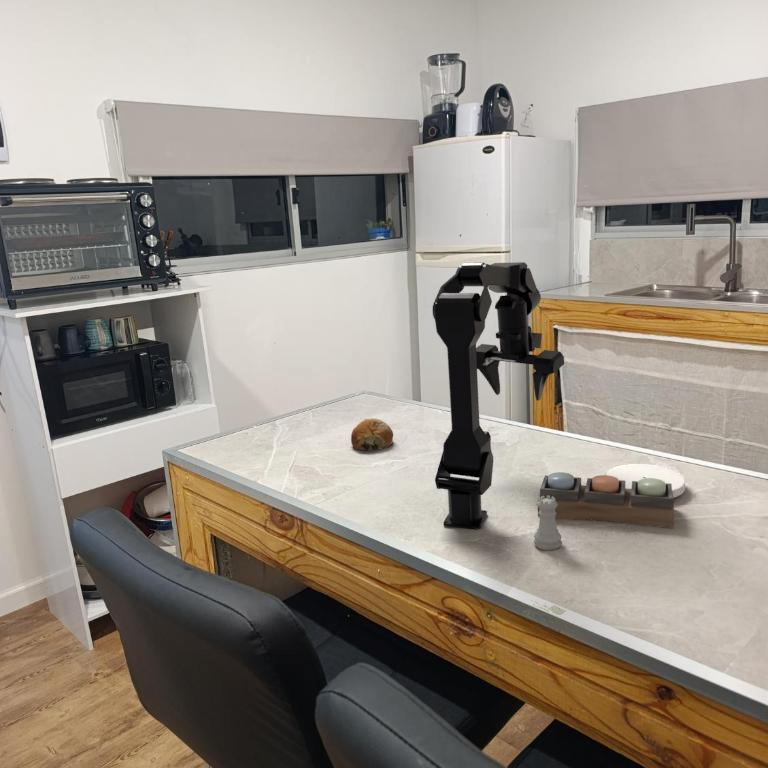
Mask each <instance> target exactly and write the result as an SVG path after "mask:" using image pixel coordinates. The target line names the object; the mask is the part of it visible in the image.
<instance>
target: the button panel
mask: <svg viewBox="0 0 768 768" xmlns="http://www.w3.org/2000/svg"><path fill="white" fill-rule="evenodd" d="M548 476H549V475H546V474H545V475H544V477H543V480H542V482H541V485H540V488H539V496H538V498H537V502H538V501H539V498H541V496H544V498H547V496H550V499H551V497H554V498H555V501H556V502H557V504H558V506H557V507H556V509H555V512H556V515H555V519H565V520H574V521H575V520H577V521H585V522H586V521H589V522H601V523H610V524H611V523H612V524H620V525H621V524H624V525H635V526H646V527H647V526H648V527H655V528H657V527H658V528H666V529H667V528H670V529H674V527H675V526H674V525H675V504H674V503H675V502H674V498H673V492H672V484H667V483H666V493H665V497H659V496H646V495H638V482H637V481H632V489H626V488H625V481H622V480H619V492H618V493H605V492H592V478H593V477H592V478H591V477H590V478H589V477H587V479H586V485H582V477H577V476H576V477H574V476H573V477H574V489H573V490H563V489H550V488H548ZM539 511H540V508H539V507H538V506H537V517H540V515H539V514H538V513H539Z"/></svg>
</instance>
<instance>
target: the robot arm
mask: <svg viewBox="0 0 768 768" xmlns="http://www.w3.org/2000/svg"><path fill="white" fill-rule="evenodd" d="M465 287H482V288H483V289H482V291H481V294H479V292H462V291H463V290H464V288H465ZM490 291H491V292H493V293H497V294H506V295H500V296H499V298H498V300H497V301H496V303H495V305H494V309H495V310H496V313H497V324H498V325H497V326H498V331H497V332H495V338H496V339H499V347H498V346H497V345H496V344H486V343H485V344H484V343H481V344H480V345H478V346H477V343H478V341H479V339H480V338H481V335H482V333H483V332H484V330H485V328H486V319H487V318H488V317H487V316H488V315H489V312H490V308H491V305H492V303H493V300H492V297H491V295H490V294H491V293H490ZM541 298H542V296H541V293H540V290H539V289H538V288H537V285H536V282H535V279H534V276H533V274H532V272H531V269H530V267H528V264H527V263H526V262H524V261H523V262H521V261H519V262H517V261H516V262H494V263H491V264H489V263H485V262H464V263H462V264H459V266H457V269H456V271H455V274H453V275H452V276H451V277H450V278H449V279H447V281H446V282H444V283H443V284H442V285H441V286H440V287H439V290H438V292H437V295H436V297H435V299H434V301H433V305H432V317H433V319H434V322H435V329H436V334H437V335H438V336H439V338H440V339H441V341H442V343H443V344H444V345H445V347H446V350H447V351H446V352H447V365H448V366H447V368H448V369H447V370H448V382H449V383H448V384H449V401H450V402H449V403H450V419H451V420H450V421H451V422H450V423H451V430H450V432H449V434H448V436H447V437H446V439H445V440H444V443H443V444H442V445H443V449H442V454H441V458H440V461H439V463H438V468H437V472H436V475H435V478H434V483H435V486H436V489H437V490H441V489H442V490H447V501H448V514H447V516H446V517H445V519H444V521H442V523H443V526H446V527H453V528H454V527H456V528H465V529H467V528H468V529H475V530H476V529H481V527H482V524H483V523H484V521H485V519H486V517H487V515H488V511H487V510H484V509H482V496H483V495H484V494H485V493H486V492H487V490H488V489H490V487H492V480H493V472H494V471H493V469H494V454H493V452H492V446H491V443H492V436H491V434H490V432H489V431H484V430H483V428H482V426H481V424H480V408H479V407H480V406H479V386H478V385H479V384H478V383H479V382H478V371H480V373H481V375H482V376H483V377H484V379H486V382H487V383H488V385H489V386H490V387H491V389H492V391H493V392H494V394H495V395H497V396H499V395H500V394H501V381H500V374H499V366H500V362H504V363H505V362H506V363H507V362H508V363H515V364H516V363H517V364H525V365H532V368H533V370H534V372H533V373H532V381H533V389H534V397H535V400H536V401H540V400H541V399H542V395H543V391H544V390H545V386H546V383H547V379H548V378H549V376H550V375H552V374H554V373H556V372H557V371H558V370H559V369H560V368H562V367H563V366H564V365H565V356H564V355H563V353H562V352H561V351H559V350H547V349H544V350H543V351H541V352H539V354H530V353H532V352H534V351H535V350H536V349H541V347H542V336H543V333H541V332H532V327H531V326H530V325H528V316H529V315H530V314H531V313H532V312H533V311H534V310H535V309H536V308H537V307H538V306H539V305H540V302H541V300H542V299H541ZM499 348H500V349H499ZM452 475H455V476H452ZM456 475H457V476H463V477H457V476H456ZM465 477H471V478H465ZM472 478H477V479H478V480H477V479H472Z"/></svg>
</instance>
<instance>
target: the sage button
mask: <svg viewBox="0 0 768 768" xmlns="http://www.w3.org/2000/svg"><path fill="white" fill-rule="evenodd" d="M665 493H666V483H665V482H664V481H662V480H659V479H655V478H644V479H641V480H639V481H638V495H646V496H659V497H665Z"/></svg>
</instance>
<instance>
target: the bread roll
mask: <svg viewBox="0 0 768 768" xmlns="http://www.w3.org/2000/svg"><path fill="white" fill-rule="evenodd" d="M393 438H394V432H393V430H392V429H391V427H390V425H388V423H387V422H385V421H383V420H381V419H379V418H365V419H363V420H361V421H360V422H359V423H358V424H357V425H356V426H355V427H354V428H353V430H352V432H351V436H350V441H351V446H352V447H353V448H354V449H355V450H358V451H365V452H371V451H377V450H378V451H379V450H382V449H385V448H388V447H390V445H392V444H393V442H394V441H393V440H394V439H393Z"/></svg>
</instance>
